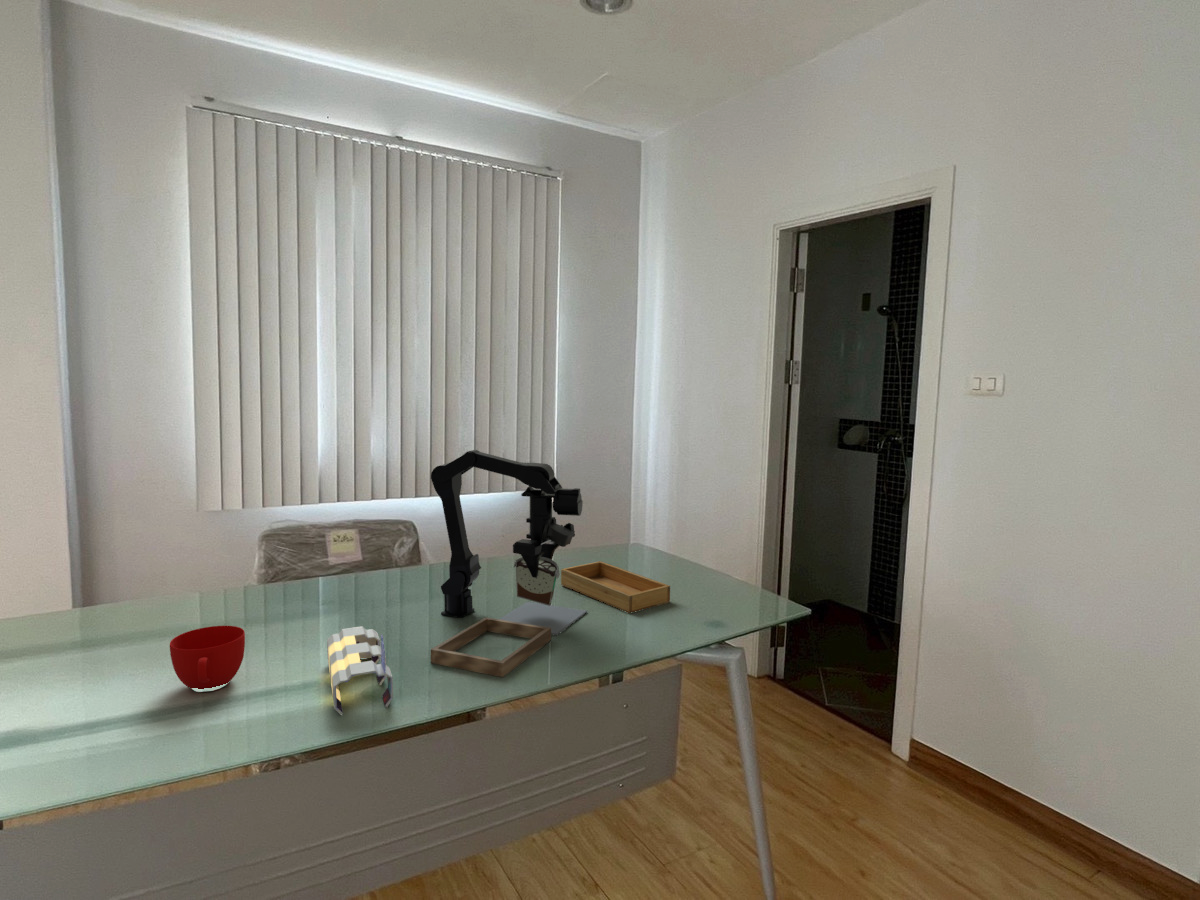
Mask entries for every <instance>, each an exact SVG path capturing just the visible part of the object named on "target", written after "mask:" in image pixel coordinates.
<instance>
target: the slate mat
mask: <svg viewBox="0 0 1200 900" xmlns="http://www.w3.org/2000/svg"><path fill="white" fill-rule="evenodd" d="M585 613H586V614H588V610H586V609H580V608H573V607H566V606H560V605H552V604H551V605H550V606H548V605H544V604H541V603H537V602H534V601H526V602H524V603H522V604H521V605H519V606H518V607H516V608H515V609H512V610H511V611H510V612H507V613H506V614H504V615H503V616H501V617H499V618H498V619H499V620H506V621H512V622H518V623H524V624H530V625H536V626H542V627H548V628H551V634H552V635H551V636H554V635H557V636H559V635H560V634H561V633H563V632H564V631H565V630H567V629H568V628H569V627H570V625H571V624H572V623H573V624H574V623H575V621H576V620H577V621H578V620H580V619H581V618H582V617H584V616H585V615H586V614H585ZM584 614H585V615H584ZM583 615H584V616H583ZM581 616H582V617H581ZM580 617H581V618H580ZM579 618H580V619H579ZM577 621H576V622H577ZM573 624H572V625H573ZM572 625H571V626H572ZM568 626H569V627H568ZM567 627H568V628H567ZM566 628H567V629H566ZM564 629H565V630H564ZM563 630H564V631H563ZM562 631H563V632H562ZM560 632H561V633H560ZM559 633H560V634H559ZM558 634H559V635H558Z"/></svg>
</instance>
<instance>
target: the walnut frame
mask: <svg viewBox="0 0 1200 900" xmlns="http://www.w3.org/2000/svg"><path fill="white" fill-rule="evenodd" d="M486 632H490V633H496V634H500V635H501V634H502V635H508V636H514V637H519V638H525V637H527V638H526V639H529V640H528V641H526V642H525V643H524V644H522V645H521V646H519V647H518V648H517V649H515V650H514V651H513V652H511V653H509V654H508V655H507V656H506V657H504V658H503V659H501V660H499V659H493V658H490V657H489V658H488V657H483V656H478V655H473V654H468V653H462V652H457V651H458V650H459V649H460V648H462V647H464V646H465V645H468V644H469V643H470V642H472V641H474V640H475V639H477V638H478V637H480V636H482V635H483V634H485V633H486ZM530 638H532V639H530ZM550 640H551V641H552V635H551V628H548V627H542V626H536V625H530V624H524V623H518V622H512V621H506V620H499V618H491V617H487V616H486V617H484V618H482V619H480V620H478V621H477V622H475V623H474V624H472V625H470V626H467V628H465V629H463V630H462V631H460V632H458V633H456V634H455V635H453V636H451V637H449V638H448V639H446V640H444V641H443V642H441V643H439V644H437V645H436V646H434V647H432V648H431V649H430V663H431V664H435V665H440V666H444V667H445V666H446V667H450V668H455V669H460V670H465V671H470V672H475V673H480V674H485V675H490V676H494V677H500V678H504V677H505V676H506V675H508V674H509V673H510V672H512V671H513V670H514V669H516V668H517V667H518V666H520V665H521V664H522V663H524V662H525V661H526V660H528V659H529V658H530V657H531V656H533V655H534V654H535V653H536V651H537V652H538V651H540V649H542V648H543V647H544V646H546V645H547V644H548V643H550V642H551V641H550ZM549 641H550V642H549ZM546 643H547V644H546ZM545 644H546V645H545ZM541 647H542V648H541ZM532 654H533V655H532ZM529 656H530V657H529ZM528 657H529V658H528ZM524 660H525V661H524Z"/></svg>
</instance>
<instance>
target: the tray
mask: <svg viewBox="0 0 1200 900" xmlns="http://www.w3.org/2000/svg"><path fill="white" fill-rule="evenodd" d="M560 571H561V572H560V584H561V586H562V587H565V588H567V589H570V590H572V589H573V590H572V591H575V592H577V593H579V592H580V594H582V595H584V596H587V597H589V598H592V599H594V600H596V601H598V600H599V602H601V603H603V602H604V603H603V604H605V603H606V604H605V605H608V606H610V605H611V606H610V607H612V606H613V608H615V607H616V608H615V609H617V608H618V610H619V609H621V610H620V611H622V610H623V611H622V612H624V611H626V612H628V613H627V614H629V613H630V614H632V613H631V612H634V613H636V612H635V611H637V612H640V611H639V610H641V611H643V610H642V609H645V610H647V609H646V608H648V609H650V607H652V608H655V607H659V606H662V605H666V604H669V603H670V601H671V586H670V585H669V584H666V583H665V582H661V581H658V580H655V579H652V578H649V577H646V576H643V575H640V574H637V573H635V572H632V571H629V570H627V569H624V568H621V567H617V566H615V565H612V564H609V563H606V562H603V561H595V562H590V563H589V562H588V563H583V564H580V565H579V564H578V565H574V566H571V567H565V568H561V569H560ZM658 605H659V606H658ZM654 606H655V607H654ZM626 612H625V613H626Z"/></svg>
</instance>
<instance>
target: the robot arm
mask: <svg viewBox="0 0 1200 900" xmlns="http://www.w3.org/2000/svg"><path fill="white" fill-rule="evenodd" d="M472 468H476V469H480V470H484V471H487V472H492V473H496V474H499V475H503V476H506V477H511V478H514V479H516V480H518V481H520V482H521V483H522V484H525V485H526V486H527V487H526V488H525V490H524V491H523V492H522V493H521V497H527V498H528V497H529V517H527V518H526V519H525V521H526V522H525V523H529V533H527V534H525V535H526V538H522V539H520V540H517V541H515V542H514V543H513V544H512V553H513V554H517V555H520V557H521V558H523V559H524V561H525V563H526V565H527V567H528V569H529V571H530V573H531V575H532V577H534V578H536V577H537V573H538V565H539V558H540V557H546V558H549V559H551V560H553V556H554V554H555V551H556V550H557V549H558V548H559V547H562V548H563V547H566V546H567V545H570V544H571V542H572V539H573V538H575V536H576V534H575V532H576V531H575V525H574V524H573V523H571V522H568V523H565V524H564V525H563V524H558V523H557V518H556V517H555V516H553V511H554V513H556V514H557V516H574V517H575V516H576V517H580V516H581V514H582V511H583V503H584V502H583V498H582V493H581V488H577V487H576V488H563V486H562V485H561V484H560V482H559V481H558V479H557V478H556V476H555V471H554V469H553V467H552V466H551V465H550V464H548V463H542V462H541V463H539V462H520V461H516V460H512V459H508V458H505V457H500V456H497V455H494V454H489V453H486V452H483V451H482V452H481V451H479V450H478V449H472V450H469V451H466V452H464V454H462V455H461V456H459V457H458V458H456V459H454V460H452V461H450V462H447V463H444V464H441V465H437V466H436V467H434V468H433V470H432V471H431V473H430V479H431V483H432V485H433V488H434V490H435V492H436V495H438V497H439V498H440V500H441V504H442V508H443V514H444V520H445V526H446V530H447V536H448V537H447V538H448V541H449V547H450V551H451V552H450V553H451V554H450V561H449V578H448V579H447V580H446V581H444V583H443V584H441V586H440V590H441V593H442V594H443V595H444V596H443V597H444V599H443V601H444V610H443V611H441V612H440V615H442V616H447V617H455V618H459V619H460V618H464V617H466V616H467V615H468V614H471V613H472V612H473V613H474V612H475V608H473V595H472V589H470V587H472V586H473V583H474V581H476V580H477V578H478V577H479V576H480V570H481V569H482V567H481V564H480V559H479V554H478V553H476V554H474V553H472V551H471V549H470V546H469V542H468V534H467V530H466V524H465V519H464V514H463V508H462V503H461V498H460V495H461V491H462V490H461V489H462V482H463V478H462V476H463V475H464V474H465V473H467V472H468V471H470V470H472Z"/></svg>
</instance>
